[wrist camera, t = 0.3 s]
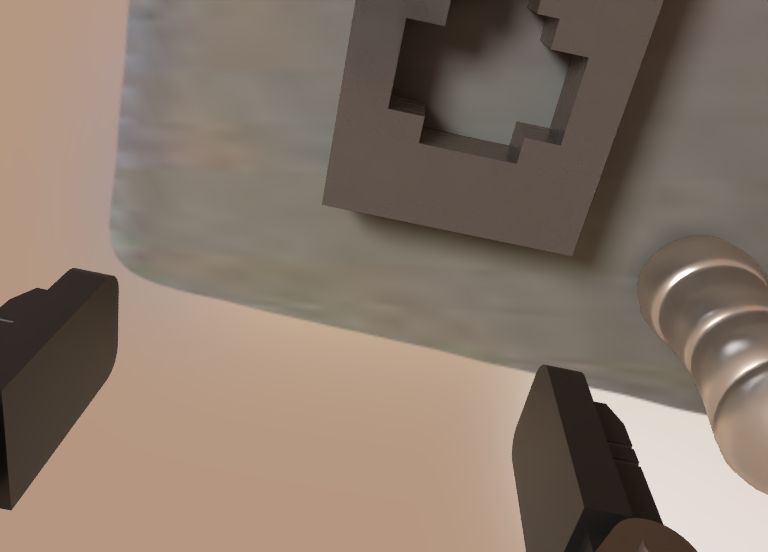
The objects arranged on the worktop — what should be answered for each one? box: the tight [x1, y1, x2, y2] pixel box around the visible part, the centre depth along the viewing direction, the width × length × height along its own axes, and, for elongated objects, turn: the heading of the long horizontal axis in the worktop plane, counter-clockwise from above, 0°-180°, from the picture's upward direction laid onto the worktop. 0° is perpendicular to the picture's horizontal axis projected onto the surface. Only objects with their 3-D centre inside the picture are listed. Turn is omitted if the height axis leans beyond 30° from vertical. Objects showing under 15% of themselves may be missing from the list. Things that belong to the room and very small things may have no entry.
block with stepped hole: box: [322, 0, 664, 256], centre depth 35 cm, size 16×14×4 cm
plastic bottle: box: [637, 236, 768, 494], centre depth 32 cm, size 6×7×20 cm
